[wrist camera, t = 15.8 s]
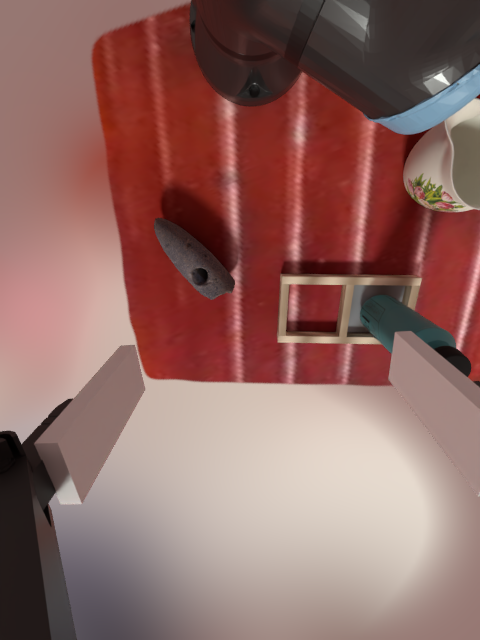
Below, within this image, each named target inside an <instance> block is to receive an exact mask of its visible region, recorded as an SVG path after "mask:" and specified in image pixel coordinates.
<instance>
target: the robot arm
mask: <svg viewBox="0 0 480 640" xmlns="http://www.w3.org/2000/svg"><path fill="white" fill-rule="evenodd" d="M190 35H191V41H192V46H193V50H194V53H195V56H196V59H197V62H198V64H199V67H200V69H201V71H202V73H203V75H204V77H205V78H206V80H207V82H208V83H209V84H210V85H211V87H212V88H213V89H214V90H215V91H216V92H217V93H218V94H220V95H221V96H222V97H224V98H225V99H227V100H229V101H231V102H233V103H235V104H238V105H243V106H260V105H264V104H267V103H270V102H272V101H274V100H276V99H278V98H279V97H281V96H282V95H284V94H285V93H286V92H287V91H288V90H289V89H290V88H291V87H292V86H293V85H294V84H295V82H296V81H297V80H298V78H299V77H300V75H301V73H302V71H303V72H304V73H306V74H307V75H309V76H310V77H312V78H313V79H314V80H316V81H317V82H319V83H320V84H322V85H323V86H325V87H326V88H328V89H329V90H331V91H332V92H334V93H335V94H337V95H338V96H339V97H341V98H342V99H344V100H345V101H347V102H348V103H350V104H351V105H353V106H354V107H356V108H357V109H359V110H360V111H361V112H363V114H364V116H365V117H366V118H367V119H368V120H370V121H373V122H377V123H380V124H382V125H384V126H385V127H387V128H389V129H390V130H392V131H394V132H396V133H398V134H405V135H407V134H409V135H410V134H416V133H420V132H423V131H425V130H428V129H430V128H432V127H434V126H436V125H438V124H440V123H441V122H443V121H444V120H446V119H448V118H449V117H451V116H452V115H453V114H455V113H456V112H458V111H459V110H461V109H462V108H463V107H464V106H466V105H467V104H468V103H470V102H471V101H472V100H473V99H474V98H476V97H477V96H478V95H479V94H480V0H191V6H190ZM389 381H390V382H391V383H392V384H393V386H394V387H395V388H396V390H397V391H398V392H399V394H400V395H401V396H402V398H403V399H404V400H405V401H406V403H407V404H408V405H409V407H410V408H411V409H412V411H413V412H414V413H415V415H416V416H417V417H418V418H419V420H420V421H421V422H422V424H423V425H424V426H425V427H426V429H427V430H428V432H429V433H430V434H431V435H432V437H433V438H434V439H435V441H436V442H437V443H438V445H439V446H440V447H441V448H442V450H443V451H444V452H445V454H446V455H447V456H448V458H449V459H450V460H451V462H452V463H453V464H454V466H455V467H456V468H457V469H458V471H459V472H460V473H461V475H462V476H463V477H464V479H465V480H466V481H467V482H468V484H469V485H470V486H471V488H472V489H473V490H474V492H475V493H476V494H477V496H480V382H479V381H473V382H472V381H471V380H470V379H469V378H468V377H466V376H465V375H464V374H463V373H462V372H460V371H459V370H458V369H457V368H455V367H454V366H453V365H452V364H451V363H449V362H448V361H447V360H446V359H444V358H443V357H442V356H441V355H440V354H438V353H437V352H436V351H435V350H434V349H432V348H431V347H430V346H429V345H427V344H426V343H425V342H424V341H423V340H421V339H420V338H419V337H418V336H417V335H415V334H414V333H413V332H412V331H401V332H395V336H394V343H393V350H392V358H391V365H390V372H389ZM144 391H145V386H144V382H143V378H142V374H141V369H140V365H139V361H138V356H137V352H136V348H135V345H126V346H120V347H119V348H118V349H117V350H116V352H115V353H114V354H113V355H112V356H111V357H110V358H109V359H108V361H107V362H106V363H105V364H104V365H103V366H102V367H101V368H100V370H99V371H98V372H97V373H96V374H95V375H94V376H93V377H92V379H91V380H90V381H89V382H88V383H87V384H86V385H85V387H84V388H83V389H82V390H81V391H80V392H79V394H78V395H77V396H76V397H75V398H74V399H68V400H66V401H65V402H63V403H62V404H60V405H59V406H57V407H56V408H55V409H54V410H53V411H52V412H51V413H50V414H49V416H48V418H46V419H45V420H44V421H43V422H42V423H41V425H40V426H38V427H37V428H36V429H35V430H34V432H33V433H32V434H31V435H30V436H29V437H28V438H27V439H26V440H25V441H24V442H23V444H21V443H20V441H19V438H18V436H17V434H16V433H15V432H13V431H2V432H0V640H77V638H76V633H75V628H74V623H73V618H72V613H71V607H70V602H69V597H68V593H67V587H66V582H65V577H64V572H63V567H62V562H61V557H60V552H59V547H58V542H57V537H56V531H55V526H54V521H53V516H52V511H51V508H50V506H49V504H48V503H49V501H50V500H51V498H52V497H53V495H54V494H55V493H56V495H57V497H58V499H59V502H60V504H82V503H83V501H84V499H85V497H86V496H87V494H88V492H89V490H90V488H91V487H92V485H93V483H94V481H95V479H96V477H97V476H98V474H99V472H100V470H101V468H102V467H103V465H104V463H105V461H106V459H107V458H108V456H109V454H110V452H111V450H112V449H113V447H114V445H115V443H116V441H117V440H118V438H119V436H120V433H121V432H122V430H123V429H124V427H125V425H126V423H127V421H128V420H129V418H130V416H131V414H132V412H133V411H134V409H135V407H136V405H137V403H138V401H139V400H140V398H141V396H142V394H143V393H144Z"/></svg>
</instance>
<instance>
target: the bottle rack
mask: <svg viewBox="0 0 480 640" xmlns="http://www.w3.org/2000/svg"><path fill="white" fill-rule="evenodd" d="M421 280H422V278H420V277H418V276H415V275H348V274H281V276H280V294H279V311H278V328H277V340H278V342H287V343H346V344H381V343H380V342H378V341H379V340H378V341H377V338H376V337H375V338H376V339H375V338H374V336H373V335H372V334H371V333H358V332H369V331H367V329H366V327H365V326H363V324H362V322H361V319H360V311H361V308H362V306H363V305H364V303H365V302H366V301H367V300H368V299H370V298H372V297H374V296H377V295H389V296H391V297H393V298H396V300H398V301H400V302H402V303H403V304H404V305H407V307H410V308H411V309H412V310H414V309H415V305H416V301H417V297H418V292H419V288H420V284H421ZM289 284H323V285H342V291H341V299H340V306H339V313H338V320H337V328H336V332H296V331H286V322H287V308H288V293H289Z"/></svg>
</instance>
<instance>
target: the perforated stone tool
mask: <svg viewBox="0 0 480 640" xmlns="http://www.w3.org/2000/svg"><path fill="white" fill-rule="evenodd" d="M154 229H155V233H156V236H157V238H158V240H159V242H160V243H161V246H162V248H163V250H164V251H165V253H166V254H167V256H168V257H169V258H170V259H171V261H172V262H173V264H174V265H175V266H176V268H177V269H178V270H179V271H180V272H181V274H182V275H183V276H184V277H185V278H186V279H187V280H188V281H189V282H190V283H191V284H192V285H193V286H194V288H195V289H196V290H197V291H199V292H200V293H201V294H202V295H204V296H206V297H208V298H210V299H211V300H212V299H215V298H216V297H218V296H219V295H222V294H225V293H226V292H228V293H232V291H233V288H234V285H235V281H234V279H233V278H232V276H231V275H230V274H229V272H228V271H227V270H226V269H225V267H224V266H223V265H222V264H221V263H220V262H219V261H218V260H217V259H216V258H215V256H214V255H213V254H212V253H211V252H210V251H209V250H207V249H206V248H205V247H204V246H203V245H202V244H201V243H200V242H199V241H197V240H196V239H195V238H194V237H193V236H191V235H190V234H189V233H188V232H186V231H185V230H184V229H182V228H181V227H180V226H178V225H176V224H174V223H172V222H170V221H168V220H166V219H162V218H157V219H155V223H154Z"/></svg>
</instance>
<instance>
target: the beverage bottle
mask: <svg viewBox="0 0 480 640" xmlns="http://www.w3.org/2000/svg"><path fill="white" fill-rule="evenodd" d="M360 319H361V322H362V324H363V326H365V327H366V329H367V331H369V332H371V334H372V335H373V336H374V338H375V337H376V338H377V341H378V340H379V341H378V342H380V343H381V344H382V345H383V346H384V347H385V348H386V349H387V350H388V351H389V353H392V350H393V343H394V336H395V332H401V331H412V332H413V333H414V334H415V335H417V336H418V337H419V338H420V339H421V340H423V341H424V342H425V343H426V344H427V345H429V346H430V347H431V348H432V349H434V350H435V351H436V352H437V353H438V354H440V355H441V356H442V357H443V358H444V359H446V360H447V361H448V362H449V363H451V364H452V365H453V366H454V367H455V368H457V369H458V370H459V371H460V372H462V373H463V374H464V375H465V376H466V377H468V376H469V374H470V372H471V363H470V361H469V360H468V358H467V357H465V356H464V355H463V354H462V353H461V352H460V351H459V350H458V349H456V343H455V340H454V338H453V336H452V335H451V334H450V333H449V332H448V331H446V330H444V329H442V328H440V327H439V326H437V325H436V324H434V323H432V322H431V321H429V320H428V319H426V318H425V317H423V316H421V315H420V314H419V313H417V312H415V311H414V310H412V309H411V308H410V307H407V305H404V304H403V303H402V302H400V301H398V300H396V298H393V297H391V296H389V295H377V296H374V297H372V298H370V299H368V300H367V301H366V302H365V303H364V305H363V306H362V308H361V311H360ZM376 338H375V339H376Z"/></svg>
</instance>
